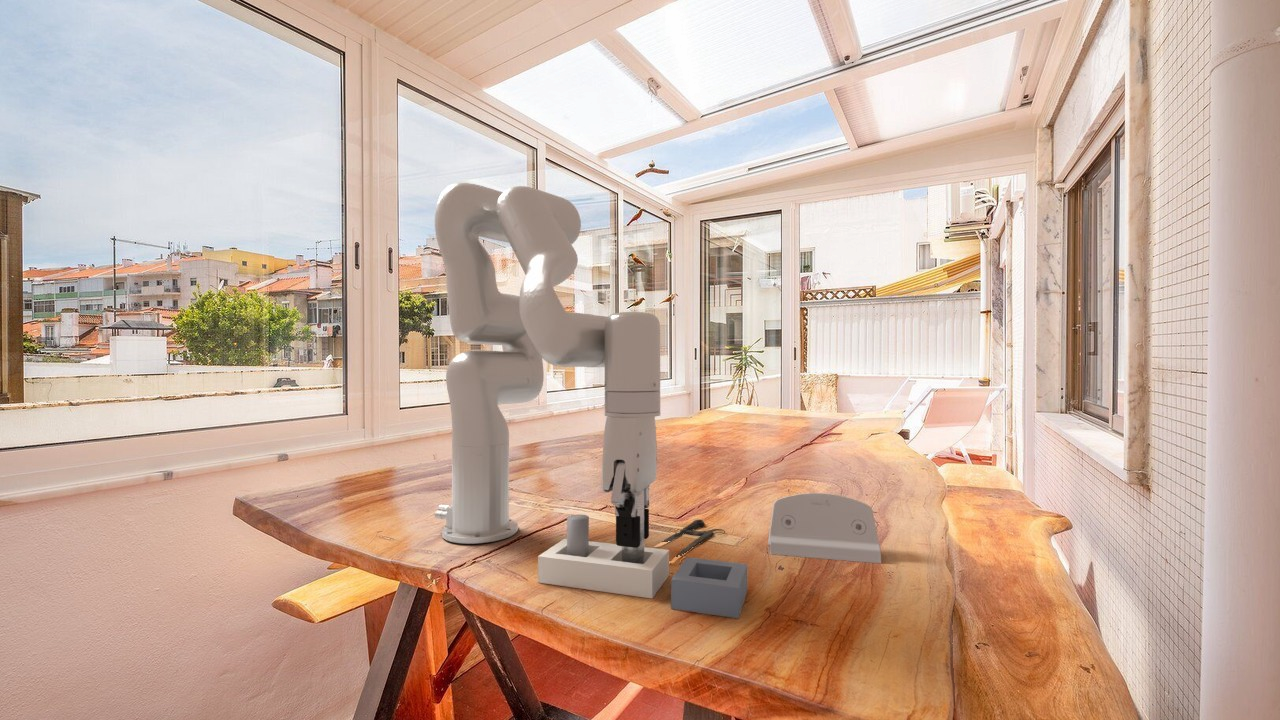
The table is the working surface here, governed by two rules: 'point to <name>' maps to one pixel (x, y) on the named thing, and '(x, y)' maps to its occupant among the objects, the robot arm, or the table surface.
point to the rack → (600, 564)
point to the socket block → (709, 587)
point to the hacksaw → (688, 530)
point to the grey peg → (638, 553)
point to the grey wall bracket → (824, 528)
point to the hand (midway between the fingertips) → (632, 540)
